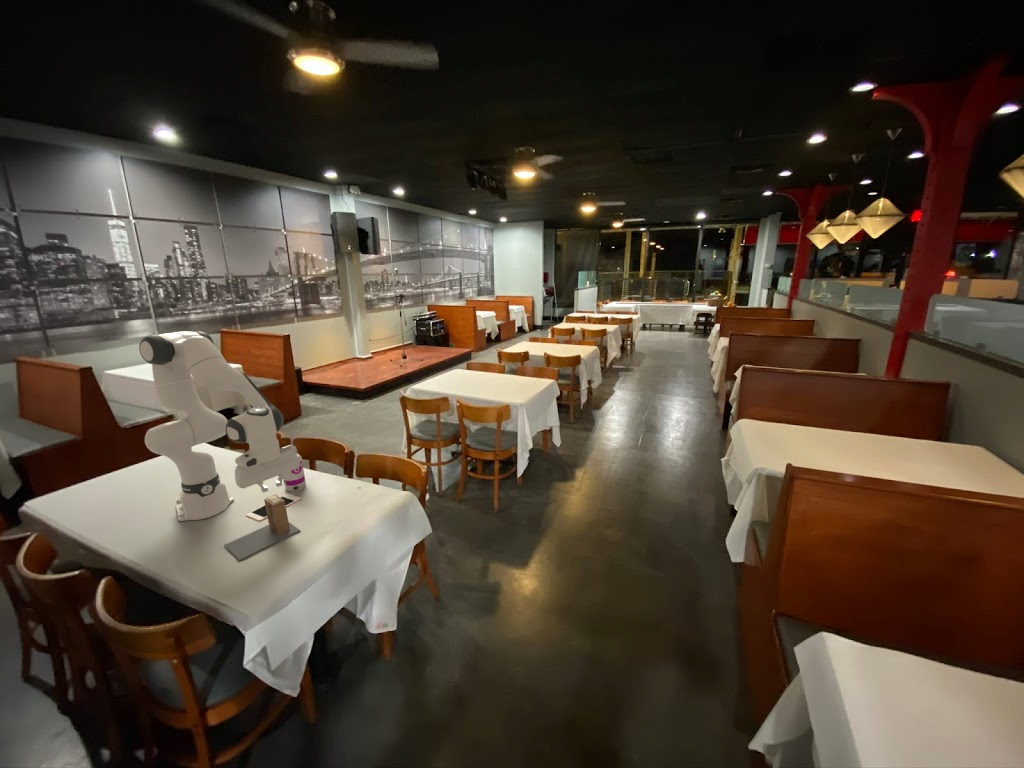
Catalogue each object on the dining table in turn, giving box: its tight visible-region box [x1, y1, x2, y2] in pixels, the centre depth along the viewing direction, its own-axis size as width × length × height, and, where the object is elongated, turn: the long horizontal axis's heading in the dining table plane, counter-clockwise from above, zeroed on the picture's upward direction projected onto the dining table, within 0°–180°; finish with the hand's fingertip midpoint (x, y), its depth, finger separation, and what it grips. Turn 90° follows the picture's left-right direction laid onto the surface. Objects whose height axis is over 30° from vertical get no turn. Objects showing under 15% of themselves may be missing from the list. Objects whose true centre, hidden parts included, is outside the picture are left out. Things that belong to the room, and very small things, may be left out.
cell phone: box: [245, 493, 302, 522], centre depth 167 cm, size 9×18×1 cm, turn 154°
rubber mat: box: [223, 522, 301, 562], centre depth 147 cm, size 13×20×1 cm, turn 143°
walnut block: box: [263, 494, 290, 535], centre depth 150 cm, size 7×4×12 cm, turn 53°
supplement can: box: [283, 452, 307, 492], centre depth 180 cm, size 8×8×15 cm
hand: (272, 488), depth 147 cm, fingers open, 3 cm apart
